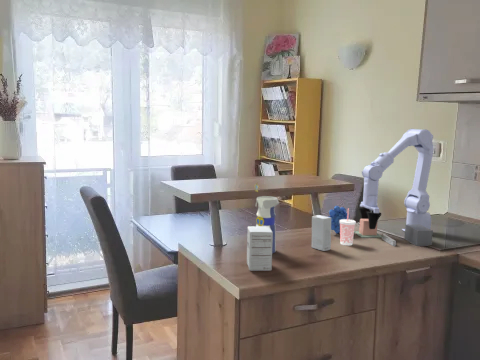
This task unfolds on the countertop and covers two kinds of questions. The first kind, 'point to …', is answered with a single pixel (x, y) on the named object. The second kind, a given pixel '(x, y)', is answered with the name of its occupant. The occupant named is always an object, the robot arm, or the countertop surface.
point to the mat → (367, 235)
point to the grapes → (337, 217)
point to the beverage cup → (347, 230)
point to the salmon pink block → (366, 228)
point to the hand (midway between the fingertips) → (368, 226)
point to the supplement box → (259, 248)
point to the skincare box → (321, 232)
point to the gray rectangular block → (418, 234)
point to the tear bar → (388, 240)
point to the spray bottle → (267, 214)
